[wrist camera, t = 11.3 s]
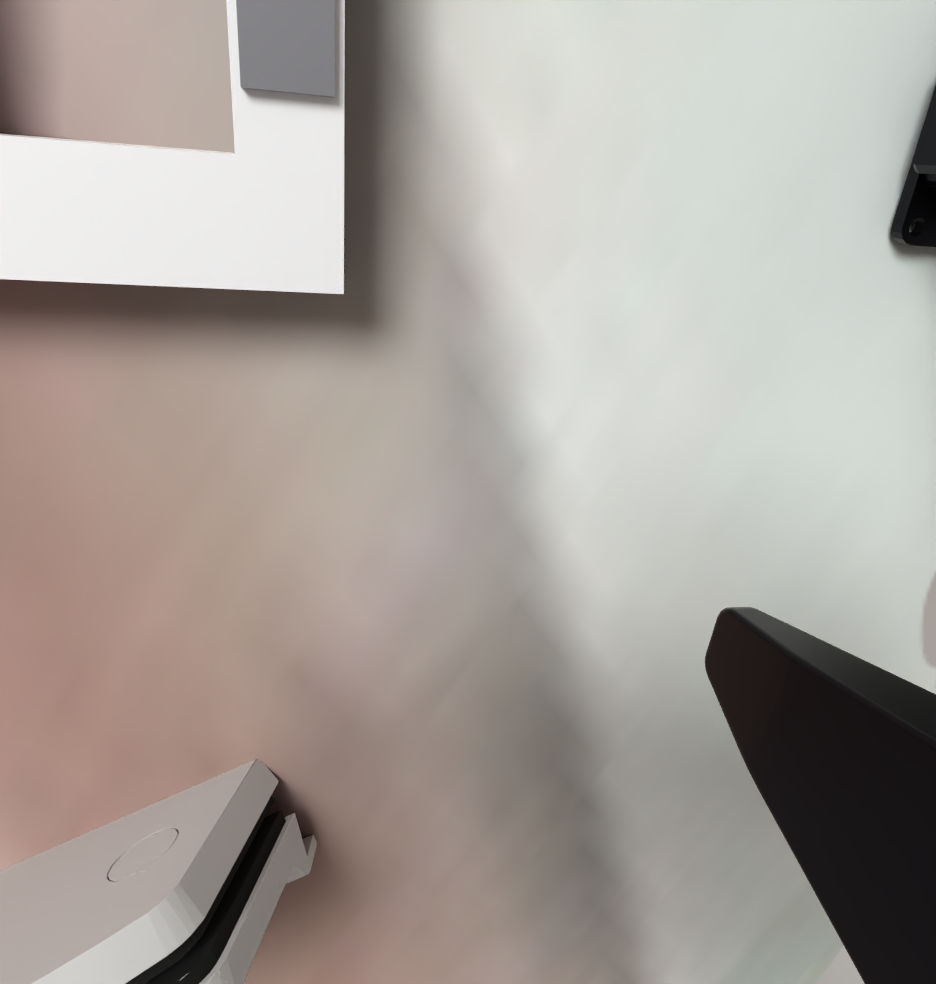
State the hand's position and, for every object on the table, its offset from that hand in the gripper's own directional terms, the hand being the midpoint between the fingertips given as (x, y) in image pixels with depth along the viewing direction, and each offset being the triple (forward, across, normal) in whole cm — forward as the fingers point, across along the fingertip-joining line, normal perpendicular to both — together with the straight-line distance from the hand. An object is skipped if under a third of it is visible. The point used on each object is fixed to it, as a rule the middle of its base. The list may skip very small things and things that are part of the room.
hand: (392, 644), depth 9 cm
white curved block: (+12, +9, +19) cm, 24 cm away
